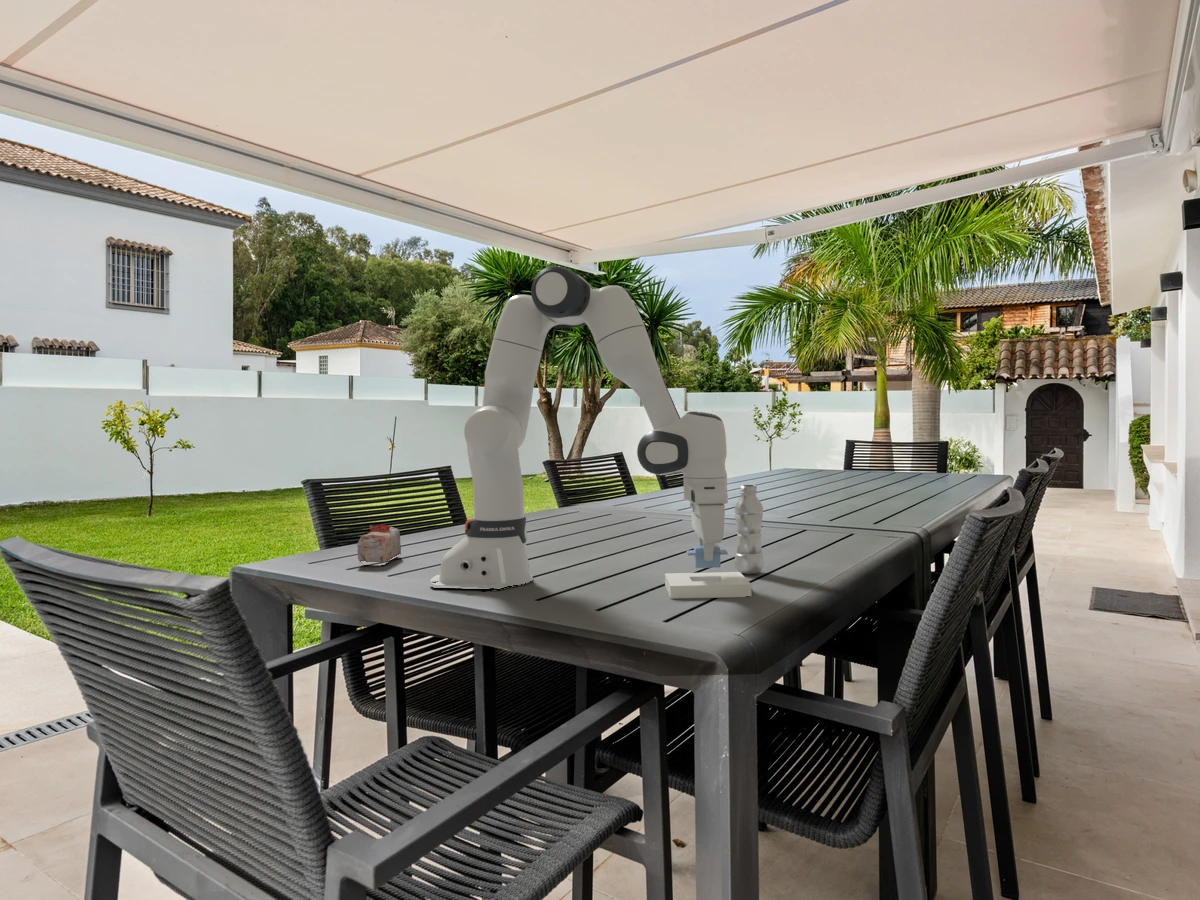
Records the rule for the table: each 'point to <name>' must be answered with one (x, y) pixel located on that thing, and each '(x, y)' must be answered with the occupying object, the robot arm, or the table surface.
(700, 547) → the servo
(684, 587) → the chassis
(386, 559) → the food item
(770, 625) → the table surface
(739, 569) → the plastic bottle
